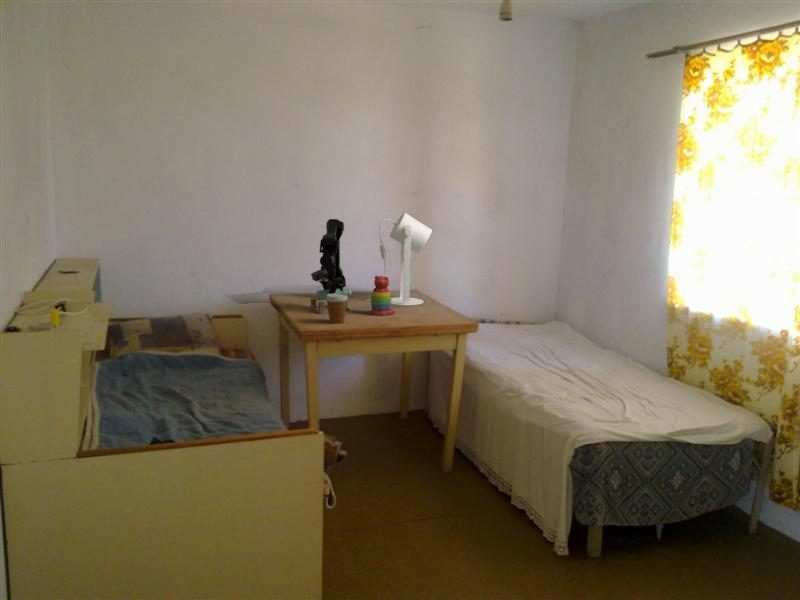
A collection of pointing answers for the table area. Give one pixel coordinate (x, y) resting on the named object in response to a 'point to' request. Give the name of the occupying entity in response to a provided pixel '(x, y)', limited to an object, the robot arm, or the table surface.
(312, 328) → the table surface
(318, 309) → the cradle
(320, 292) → the bottle
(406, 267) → the desk lamp
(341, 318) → the disposable coffee cup
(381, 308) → the stacking bear
